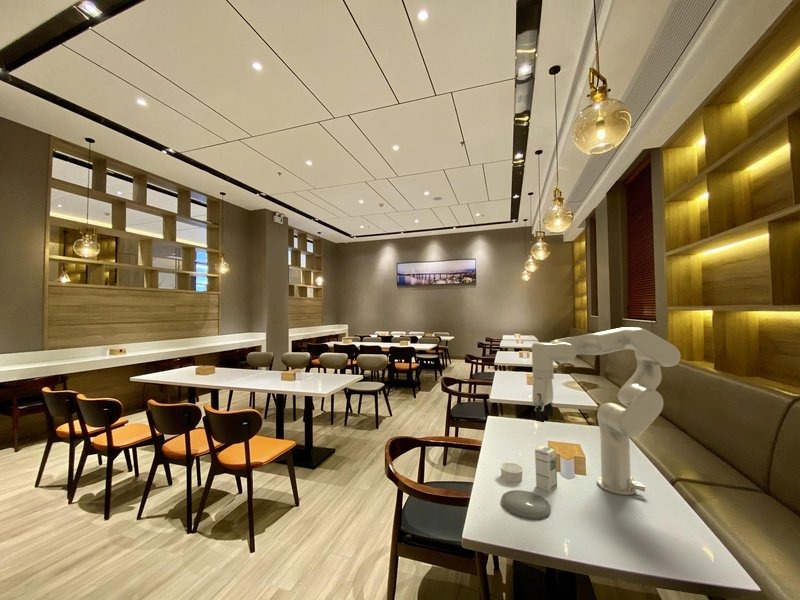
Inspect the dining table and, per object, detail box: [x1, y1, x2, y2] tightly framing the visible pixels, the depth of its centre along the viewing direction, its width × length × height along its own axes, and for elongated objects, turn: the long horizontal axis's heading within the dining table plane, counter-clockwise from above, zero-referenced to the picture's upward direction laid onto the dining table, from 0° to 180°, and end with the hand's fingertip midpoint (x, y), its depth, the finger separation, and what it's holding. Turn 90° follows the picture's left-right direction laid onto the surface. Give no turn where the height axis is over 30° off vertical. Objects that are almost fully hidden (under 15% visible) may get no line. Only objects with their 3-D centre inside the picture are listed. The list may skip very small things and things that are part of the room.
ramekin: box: [499, 462, 524, 483], centre depth 135 cm, size 9×9×4 cm
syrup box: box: [534, 445, 558, 493], centre depth 128 cm, size 6×6×14 cm
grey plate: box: [501, 489, 552, 521], centre depth 115 cm, size 16×16×1 cm
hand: (544, 418), depth 129 cm, fingers open, 9 cm apart
